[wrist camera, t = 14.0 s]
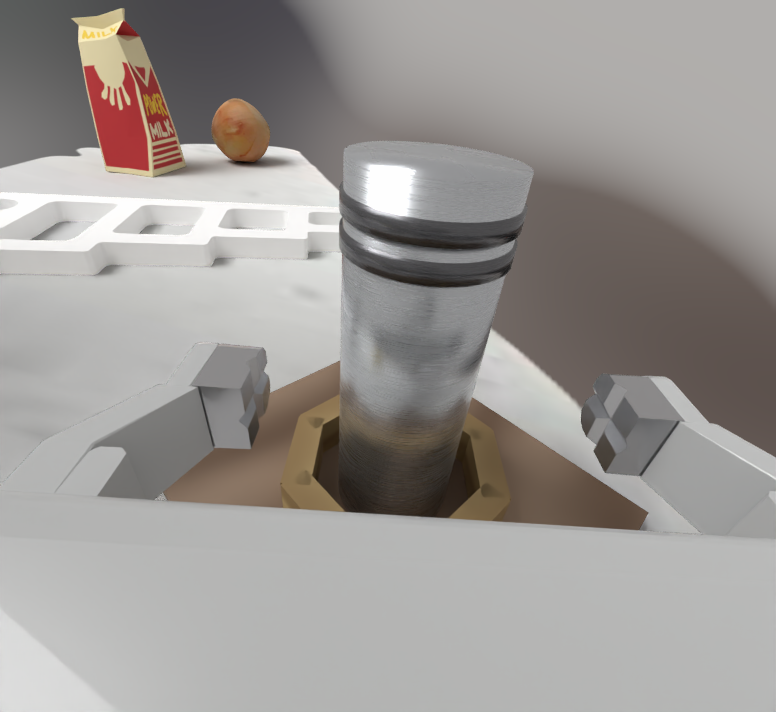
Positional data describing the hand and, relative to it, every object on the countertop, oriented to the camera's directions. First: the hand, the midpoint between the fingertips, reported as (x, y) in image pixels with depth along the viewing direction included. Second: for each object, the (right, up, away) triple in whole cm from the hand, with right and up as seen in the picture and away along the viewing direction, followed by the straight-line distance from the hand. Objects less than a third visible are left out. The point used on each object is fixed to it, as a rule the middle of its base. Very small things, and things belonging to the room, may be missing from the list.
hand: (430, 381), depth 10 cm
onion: (-28, +37, +65) cm, 79 cm away
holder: (-23, +11, +32) cm, 41 cm away
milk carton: (-41, +31, +55) cm, 75 cm away
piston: (-1, -5, +9) cm, 11 cm away
